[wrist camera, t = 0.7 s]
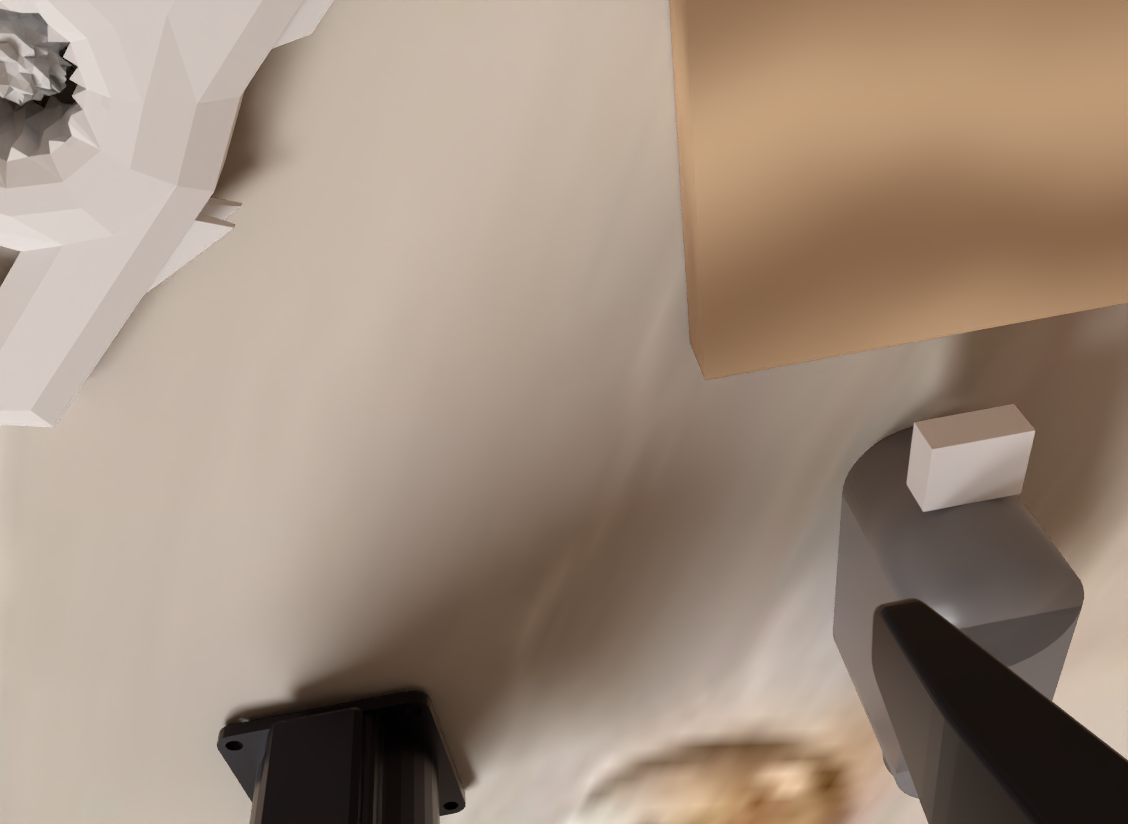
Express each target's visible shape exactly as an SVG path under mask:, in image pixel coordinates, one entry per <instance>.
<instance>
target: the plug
mask: <svg viewBox="0 0 1128 824" xmlns="http://www.w3.org/2000/svg"><path fill="white" fill-rule="evenodd" d="M1035 431H1036V430H1035V429H1034V428H1033V427H1032V425H1031V424H1030V423H1029V422H1028V420H1027V419H1026V418H1025V417H1024V416H1023V414H1022V413H1021V412H1020V411H1019V409H1018V408H1017V407H1016V406H1015V405H1014V404H1010V405H1005V406H999V407H994V408H988V409H983V410H977V411H972V412H967V413H961V414H956V415H950V416H945V417H940V418H934V419H929V420H923V421H918V422H914V427H911V428H908V429H905V430H902V431H899V432H897V433H894V434H892V435H890V436H888V437H886V438H885V439H883V440H881V441H880V442H878V443H877V444H875V445H874V446H873V447H871V448H870V449H869V450H868V451H866V452H865V453H864V454H863V455H862V456H861V457H860V458H859V459H858V461H857V462H856V463H855V464H854V466H853V467H852V469H851V470H850V472H849V474H848V476H847V478H846V480H845V483H844V486H843V493H842V506H841V521H840V536H839V550H838V565H837V580H836V594H835V609H834V624H833V636H834V640H835V643H836V645H837V647H838V649H839V652H840V654H841V656H842V659H843V661H844V663H845V666H846V668H847V670H848V672H849V675H850V677H851V679H852V682H853V684H854V686H855V689H856V691H857V693H858V696H859V698H860V700H861V702H862V705H863V707H864V709H865V712H866V714H867V716H868V719H869V721H870V723H871V725H872V728H873V730H874V732H875V735H876V737H877V739H878V742H879V744H880V746H881V749H882V751H883V760H884V763H885V765H886V767H887V769H888V770H889V772H890V773H891V774H892V775H893V776H894V778H895V781H896V783H897V785H898V787H899V788H900V789H901V790H902V791H903V792H904V793H906V794H907V795H910V796H912V797H915V798H919V797H918V794H917V792H916V789H915V786H914V783H913V781H912V778H911V775H910V772H909V770H908V767H907V764H906V762H905V759H904V756H903V753H902V751H901V748H900V745H899V742H898V740H897V737H896V734H895V731H894V729H893V726H892V723H891V721H890V718H889V715H888V712H887V710H886V707H885V704H884V701H883V699H882V696H881V693H880V691H879V688H878V685H877V682H876V679H875V676H874V672H873V667H872V661H871V651H872V628H873V613H874V610H875V608H876V607H877V606H878V605H880V604H884V603H889V602H893V601H898V600H903V599H907V598H915V599H919V600H921V601H923V602H924V603H926V604H927V605H928V606H930V607H931V608H932V609H933V610H935V611H936V612H937V613H939V614H940V615H941V616H942V617H944V618H945V619H946V620H948V621H949V622H950V623H951V624H953V625H954V626H955V627H957V628H958V629H959V630H960V631H962V632H963V633H964V634H966V635H967V636H968V637H969V638H971V639H972V640H973V641H975V642H976V643H977V644H978V645H980V646H981V647H982V648H984V649H985V650H986V651H988V652H989V653H990V654H991V655H993V656H994V657H995V658H997V659H998V660H999V661H1000V662H1002V663H1003V664H1004V665H1006V666H1007V667H1008V668H1009V669H1011V670H1012V671H1013V672H1015V673H1016V674H1017V675H1018V676H1020V677H1021V678H1022V679H1024V680H1025V681H1026V682H1027V683H1029V684H1030V685H1031V686H1033V687H1034V688H1035V689H1036V690H1038V691H1039V692H1040V693H1042V694H1043V695H1044V696H1046V697H1047V698H1048V699H1049V700H1051V701H1052V700H1053V696H1054V693H1055V690H1056V687H1057V684H1058V681H1059V677H1060V674H1061V671H1062V668H1063V665H1064V662H1065V658H1066V655H1067V652H1068V649H1069V646H1070V643H1071V639H1072V636H1073V633H1074V630H1075V627H1076V624H1077V620H1078V617H1079V614H1080V611H1081V608H1082V604H1083V600H1084V590H1083V585H1082V583H1081V581H1080V579H1079V578H1078V577H1077V575H1076V574H1075V572H1074V571H1073V570H1072V568H1071V567H1070V566H1069V564H1068V563H1067V562H1066V560H1065V559H1064V557H1063V556H1062V555H1061V553H1060V552H1059V551H1058V549H1057V548H1056V546H1055V545H1054V544H1053V542H1052V541H1051V540H1050V538H1049V537H1048V536H1047V534H1046V533H1045V531H1044V530H1043V529H1042V527H1041V526H1040V525H1039V523H1038V522H1037V520H1036V519H1035V518H1034V516H1033V515H1032V514H1031V512H1030V511H1029V510H1028V508H1027V507H1026V505H1025V504H1024V503H1023V501H1022V500H1021V499H1020V497H1019V496H1018V494H1021V492H1022V487H1023V483H1024V479H1025V474H1026V470H1027V466H1028V461H1029V457H1030V453H1031V448H1032V444H1033V439H1034V435H1035Z"/></svg>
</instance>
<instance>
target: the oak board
mask: <svg viewBox="0 0 1128 824" xmlns="http://www.w3.org/2000/svg"><path fill="white" fill-rule="evenodd" d="M669 4H670V20H671V37H672V53H673V70H674V86H675V103H676V119H677V135H678V152H679V168H680V185H681V201H682V218H683V234H684V250H685V267H686V283H687V300H688V316H689V333H690V344H691V347H692V349H693V351H694V354H695V356H696V359H697V361H698V364H699V366H700V368H701V371H702V373H703V376H704V378H705V380H709V379H715V378H720V377H726V376H731V375H736V374H742V373H747V372H753V371H758V370H764V369H769V368H775V367H780V366H786V365H791V364H796V363H802V362H807V361H813V360H818V359H824V358H829V357H835V356H840V355H845V354H851V353H856V352H862V351H867V350H873V349H878V348H884V347H889V346H895V345H900V344H905V343H911V342H916V341H922V340H927V339H933V338H938V337H944V336H949V335H955V334H960V333H965V332H971V331H976V330H982V329H987V328H993V327H998V326H1004V325H1009V324H1014V323H1020V322H1025V321H1031V320H1036V319H1042V318H1047V317H1053V316H1058V315H1064V314H1069V313H1074V312H1080V311H1085V310H1091V309H1096V308H1102V307H1107V306H1113V305H1118V304H1124V303H1128V0H669Z"/></svg>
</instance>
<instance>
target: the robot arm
mask: <svg viewBox="0 0 1128 824" xmlns="http://www.w3.org/2000/svg"><path fill="white" fill-rule="evenodd" d="M871 661H872V667H873V672H874V676H875V679H876V682H877V685H878V688H879V691H880V693H881V696H882V699H883V701H884V704H885V707H886V710H887V712H888V715H889V718H890V721H891V723H892V726H893V729H894V731H895V734H896V737H897V740H898V742H899V745H900V748H901V751H902V753H903V756H904V759H905V762H906V764H907V767H908V770H909V772H910V775H911V778H912V781H913V783H914V786H915V789H916V792H917V794H918V797H919V800H920V803H921V805H922V808H923V810H924V813H925V815H926V818H927V821H928V823H929V824H1128V760H1127V759H1125V758H1124V757H1123V756H1122V755H1120V754H1119V753H1118V752H1116V751H1115V750H1114V749H1113V748H1111V747H1110V746H1109V745H1107V744H1106V743H1105V742H1104V741H1102V740H1101V739H1100V738H1098V737H1097V736H1096V735H1094V734H1093V733H1092V732H1091V731H1089V730H1088V729H1087V728H1085V727H1084V726H1083V725H1082V724H1080V723H1079V722H1078V721H1076V720H1075V719H1074V718H1073V717H1071V716H1070V715H1069V714H1067V713H1066V712H1065V711H1064V710H1062V709H1061V708H1060V707H1058V706H1057V705H1056V704H1055V703H1053V702H1052V701H1051V700H1049V699H1048V698H1047V697H1046V696H1044V695H1043V694H1042V693H1040V692H1039V691H1038V690H1036V689H1035V688H1034V687H1033V686H1031V685H1030V684H1029V683H1027V682H1026V681H1025V680H1024V679H1022V678H1021V677H1020V676H1018V675H1017V674H1016V673H1015V672H1013V671H1012V670H1011V669H1009V668H1008V667H1007V666H1006V665H1004V664H1003V663H1002V662H1000V661H999V660H998V659H997V658H995V657H994V656H993V655H991V654H990V653H989V652H988V651H986V650H985V649H984V648H982V647H981V646H980V645H978V644H977V643H976V642H975V641H973V640H972V639H971V638H969V637H968V636H967V635H966V634H964V633H963V632H962V631H960V630H959V629H958V628H957V627H955V626H954V625H953V624H951V623H950V622H949V621H948V620H946V619H945V618H944V617H942V616H941V615H940V614H939V613H937V612H936V611H935V610H933V609H932V608H931V607H930V606H928V605H927V604H926V603H924V602H923V601H921V600H919V599H915V598H907V599H903V600H898V601H893V602H889V603H884V604H880V605H878V606H877V607H876V608H875V610H874V613H873V628H872V651H871ZM217 747H218V750H219V751H220V753H221V754H222V756H223V758H224V759H225V761H226V762H227V764H228V765H229V767H230V768H231V770H232V772H233V773H234V775H235V776H236V778H237V779H238V781H239V783H240V784H241V786H242V787H243V789H244V790H245V792H246V793H247V795H248V797H249V798H250V800H251V801H252V809H251V817H250V824H440V817H439V816H443V815H448V814H453V813H457V812H460V811H461V810H463V809H464V807H465V791H464V789H463V786H462V783H461V780H460V778H459V775H458V772H457V770H456V767H455V764H454V762H453V759H452V756H451V754H450V751H449V748H448V746H447V743H446V740H445V737H444V735H443V732H442V729H441V727H440V724H439V721H438V719H437V716H436V713H435V711H434V708H433V705H432V703H431V700H430V698H429V696H428V695H427V694H425V693H424V692H420V691H408V692H403V693H398V694H393V695H387V696H382V697H377V698H371V699H366V700H361V701H355V702H350V703H345V704H339V705H334V706H329V707H323V708H318V709H313V710H307V711H302V712H297V713H291V714H286V715H281V716H275V717H270V718H265V719H259V720H254V721H249V722H243V723H238V724H233V725H229V726H226V727H224V728H222V729H221V730H220V732H219V736H218V742H217Z"/></svg>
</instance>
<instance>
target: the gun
mask: <svg viewBox="0 0 1128 824" xmlns="http://www.w3.org/2000/svg"><path fill="white" fill-rule="evenodd" d="M333 1H334V0H0V246H2V247H6V248H10V249H14V250H17V251H21V252H20V254H19V256H18V257H17V259H16V261H15V263H14V264H13V266H12V268H11V269H10V271H9V273H8V275H7V276H6V278H5V280H4V282H3V283H2V285H1V287H0V425H15V426H38V427H55V425H56V424H57V422H58V421H59V419H60V418H61V417H62V415H63V414H64V412H65V411H66V409H67V408H68V406H69V405H70V403H71V402H72V400H73V399H74V397H75V396H76V394H77V393H78V391H79V390H80V389H81V387H82V386H83V384H84V383H85V381H86V380H87V378H88V377H89V375H90V374H91V372H92V371H93V369H94V368H95V366H96V365H97V363H98V362H99V361H100V359H101V358H102V356H103V355H104V353H105V352H106V350H107V349H108V347H109V346H110V344H111V343H112V341H113V340H114V338H115V337H116V335H117V334H118V333H119V331H120V330H121V328H122V327H123V325H124V324H125V322H126V321H127V319H128V318H129V316H130V315H131V313H132V312H133V310H134V309H135V307H136V306H137V305H138V303H139V302H140V300H141V299H142V297H143V296H144V295H145V294H146V293H147V292H149V291H150V290H151V289H153V288H154V287H155V286H157V285H158V284H159V283H161V282H162V281H163V280H165V279H166V278H168V277H169V276H170V275H172V274H173V273H174V272H176V271H177V270H178V269H180V268H181V267H182V266H184V265H185V264H186V263H188V262H189V261H190V260H192V259H193V258H194V257H196V256H197V255H198V254H200V253H201V252H202V251H204V250H205V249H207V248H208V247H209V246H211V245H212V244H213V243H215V242H216V241H217V240H219V239H220V238H221V237H223V236H224V235H225V234H227V233H228V232H229V231H231V230H232V229H233V228H234V227H235V224H232V223H229V222H227V221H224V219H226V218H227V217H228V216H229V215H231V214H232V213H233V212H235V211H236V210H237V209H238V208H240V207H241V205H242V203H238V202H233V201H228V200H223V199H218V198H213V197H211V195H212V194H213V193H214V191H215V188H216V185H217V183H218V180H219V177H220V174H221V172H222V169H223V166H224V163H225V160H226V156H227V153H228V149H229V145H230V142H231V138H232V135H233V131H234V127H235V124H236V120H237V117H238V113H239V109H240V106H241V102H242V98H243V95H244V91H245V89H246V87H247V86H248V84H249V83H250V81H251V80H252V78H253V76H254V75H255V73H256V72H257V70H258V69H259V67H260V66H261V64H262V63H263V61H264V60H265V58H266V57H267V55H268V54H269V52H270V51H271V49H273V48H276V47H279V46H281V45H284V44H287V43H289V42H292V41H294V40H297V39H300V38H302V37H305V36H308V35H310V34H312V32H313V31H314V29H315V28H316V26H317V25H318V23H319V22H320V20H321V19H322V18H323V16H324V15H325V13H326V12H327V10H328V9H329V7H330V6H331V4H332V3H333ZM67 42H70V44H68V43H67ZM67 45H69V46H68V48H67V50H66V52H65V54H64V56H63V58H65V59H67V60H68V61H70V62H71V63H73V64H75V65H76V66H78V67H77V69H76V70H75V72H74V73H73V75H72V76H71V77H70V79H69V80H71V81H73V82H75V83H77V84H78V85H77V87H76V89H75V91H74V93H73V95H72V97H73V98H74V99H75V100H76V102H75V103H71V104H63V103H62V102H60V101H59V100H58V99H57V98H55V97H54V96H53V94H56V93H60V92H61V91H62V90H63V89H64V88H65V87H66V84H65V81H66V80H67V79H66V77H65V75H67V74H66V69H67V67H68V66H72V65H71V64H69V63H68V62H67V61H65V60H64V59H62V58H61V57H60V56H59V51H61V50H62V49H63V48H65V47H66V46H67ZM43 95H44V96H46V95H48V96H50V95H51V96H50V98H49V100H48V102H47V104H46V106H45V108H43V107H41V106H40V105H38V104H36V103H34V102H33V101H32V100H40V101H41V99H42V97H43Z"/></svg>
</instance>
